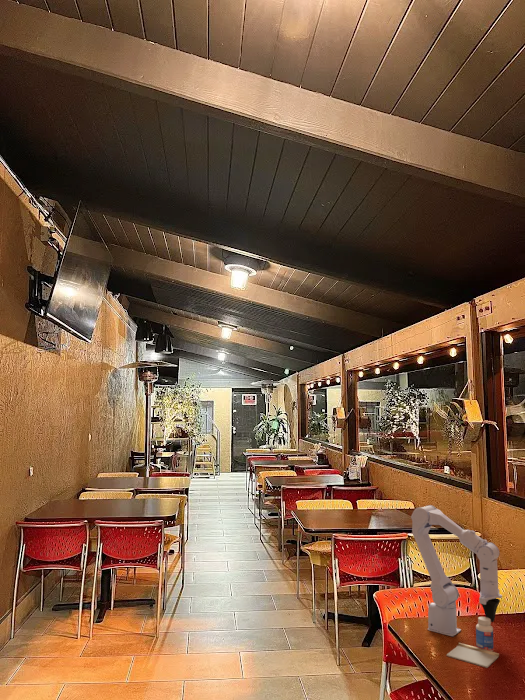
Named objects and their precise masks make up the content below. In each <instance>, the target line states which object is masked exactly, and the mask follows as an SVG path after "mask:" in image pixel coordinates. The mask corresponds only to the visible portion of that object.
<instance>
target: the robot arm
mask: <svg viewBox="0 0 525 700" xmlns="http://www.w3.org/2000/svg"><path fill="white" fill-rule="evenodd" d="M410 519H411V521H412V525H411V526H412V528H411V533H412V536H413V538H414V541H415V543H416V544H417V548H418V551H419V553H420V556H421V557H422V560H423V562H424V565H425V568H426V569H427V570H426V571H427V572H428V574H429V577H430V580H431V583H430V590H431V595H432V596H431V599H432V601H433V602H430V603H429V605H428V609H427V610H428V611H427V614H428V615H427V617H428V618H427V620H428V621H427V622H428V625H427V626H428V628H427V630H428V631H431V632H434V633H438V634H442V635H444V636H445V635H446V636H448V637H449V636H450V637H453V638H454V637H455V636H456V635H457V634H459V633H460V632H462V629H461V628H459V627H458V625H457V622H458V621H457V604H456V603H457V600H458V599H459V597H460V594H459V593H460V592H459V590H458V588H457V587H456V586H455V585H454V583H453V582H452V580H451V579H450V577H449V576H447V575H446V573H445V570H444V568H443V565H442V563H441V560H440V558H439V556H438V554H437V552H436V549H435V547H434V544H433V542H432V540H431V537H430V535H429V532H430V529H431V528H432V526H434V525H435V526H441V528H444V529H445V530H447V531H448V532H450V533H451V534H453V535H455V537H457V538H458V540H459V543H461V545H463V546H464V547H466V548H467V549H468V550H470V551H471V552H472V553H474V554H476V557H477V559H478V560H479V579H480V580H479V582H480V592H479V598H478V599H479V600H478V602H479V604H481V607H482V609H483V611H484V617H487V618H490V619H491V623H493V622H495V618H496V613H497V610H498V606H499V604H500V601H501V600H500V599H502V598H503V595H502V594H501V593H500V588H499V576H498V574H499V571H498V558H499V556H500V549H499V547H498V546H497V545H496V544H495V543H494V542H489V541H488V540H487V539H483V538H482V537H480V536H479V535H478V534H476V531H475V530H472V529H471V530H470V529H463V528H462V527H461V526H460V525H459V524H457V523H456V522H455V521H453V519H451V518H449V517H448V516H447V515H446V514H444V513H443V511H442V510H440V509H439V508H437V507H435V506H434V505H432V504H429V505H425V506H422V507H417V508H416V507H415V509H414V510H413V511H412V514H411V516H410Z"/></svg>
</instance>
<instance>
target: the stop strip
mask: <svg viewBox="0 0 525 700" xmlns="http://www.w3.org/2000/svg"><path fill="white" fill-rule="evenodd" d="M458 645H459V646H463V647H466V648H470V649H473V650H477V651H481V652H484V653H488V654H491V655H495V656H498V658H499V657H500V653H498V652H495V651H488V650H485V649H481V648H477V647H476V646H473V645H469V644H465V643H462V642H458V644H457V646H458Z"/></svg>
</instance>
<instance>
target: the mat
mask: <svg viewBox="0 0 525 700" xmlns="http://www.w3.org/2000/svg"><path fill="white" fill-rule="evenodd" d="M446 657H449V658H452V659H455V660H460V661H462V662H466V663H469V664H472V665H476V666H480V667H483V668H486V669H488V668H489V667H490V666H491V665H492V664H493V663H494V662H495V661H496V660H498V658H499V657H498V656H495V655H491V654H488V653H484V652H481V651H477V650H473V649H470V648H466V647H463V646H459V645H458V644H457V645H456V647H454V648H453V649H452V650H450V651H449V652H448V653H447V654H446Z"/></svg>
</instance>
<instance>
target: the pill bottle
mask: <svg viewBox="0 0 525 700" xmlns="http://www.w3.org/2000/svg"><path fill="white" fill-rule="evenodd" d="M491 624H492V622H491V619H490V618H487V617H486V616H479V617H477V624H476V625H475V634H476V635H475V641H476V642H475V643H476V644H475V645H476V646H475V647H477V648H481V649H485V650H488V651H492V652H494V627H493V626H492V625H491Z"/></svg>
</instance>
